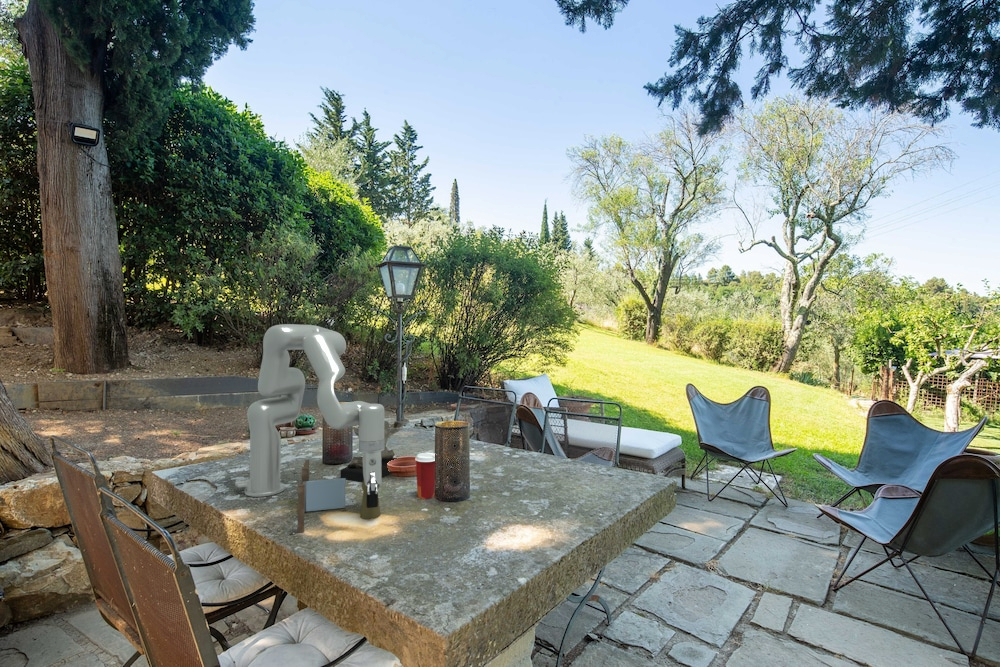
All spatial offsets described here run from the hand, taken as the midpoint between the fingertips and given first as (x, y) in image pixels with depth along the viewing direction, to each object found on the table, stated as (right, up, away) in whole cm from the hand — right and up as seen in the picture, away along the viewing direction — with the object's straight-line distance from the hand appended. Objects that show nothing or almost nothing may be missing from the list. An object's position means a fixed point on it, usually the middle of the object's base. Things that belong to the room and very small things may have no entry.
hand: (371, 501), depth 145 cm
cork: (0, -5, 0) cm, 5 cm away
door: (-16, -4, +3) cm, 16 cm away
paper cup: (+14, -5, +18) cm, 23 cm away
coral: (-7, -4, +42) cm, 43 cm away
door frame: (-20, -4, 0) cm, 21 cm away
